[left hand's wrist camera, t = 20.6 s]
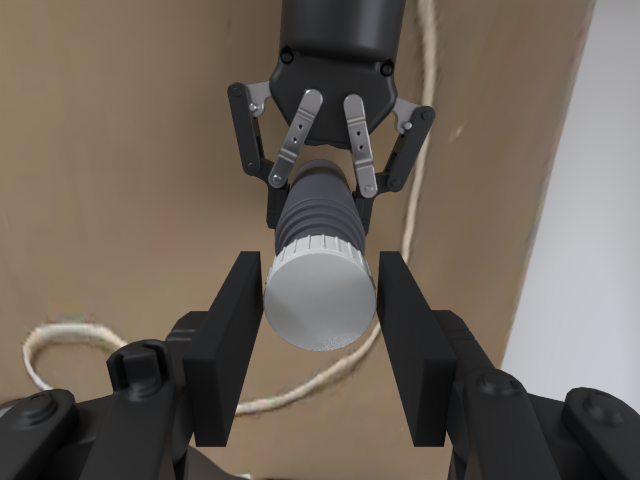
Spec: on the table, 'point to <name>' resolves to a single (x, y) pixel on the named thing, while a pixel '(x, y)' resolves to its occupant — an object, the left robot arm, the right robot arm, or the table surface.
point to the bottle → (320, 207)
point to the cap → (319, 294)
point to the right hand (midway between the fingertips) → (316, 236)
